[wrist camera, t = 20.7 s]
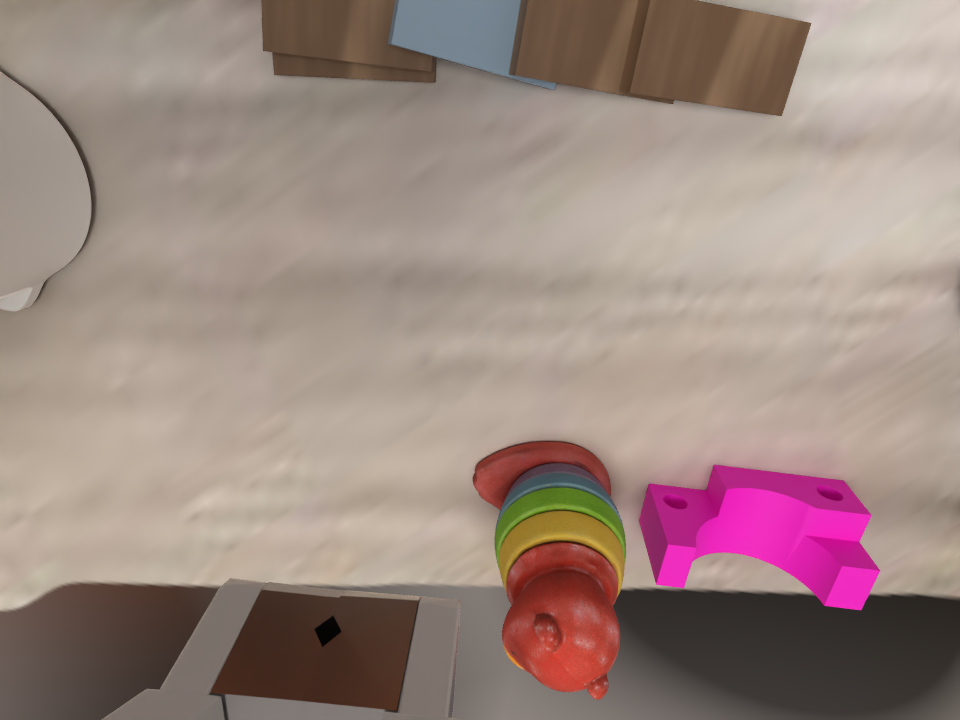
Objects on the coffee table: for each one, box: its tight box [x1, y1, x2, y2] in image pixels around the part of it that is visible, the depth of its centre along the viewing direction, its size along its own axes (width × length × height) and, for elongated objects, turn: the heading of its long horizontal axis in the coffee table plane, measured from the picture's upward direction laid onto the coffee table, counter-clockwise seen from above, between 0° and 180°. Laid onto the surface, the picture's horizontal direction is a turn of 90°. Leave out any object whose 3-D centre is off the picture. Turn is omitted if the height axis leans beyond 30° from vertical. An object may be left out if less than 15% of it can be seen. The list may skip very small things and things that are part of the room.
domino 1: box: [262, 0, 435, 72], centre depth 37 cm, size 2×5×10 cm
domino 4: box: [509, 0, 674, 104], centre depth 36 cm, size 2×5×10 cm
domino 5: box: [619, 0, 811, 116], centre depth 36 cm, size 2×5×10 cm
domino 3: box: [388, 0, 557, 90], centre depth 36 cm, size 2×5×10 cm
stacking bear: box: [473, 442, 626, 700], centre depth 44 cm, size 11×10×18 cm
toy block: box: [639, 465, 880, 610], centre depth 48 cm, size 15×6×8 cm, turn 84°
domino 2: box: [272, 52, 436, 82], centre depth 39 cm, size 2×5×10 cm
